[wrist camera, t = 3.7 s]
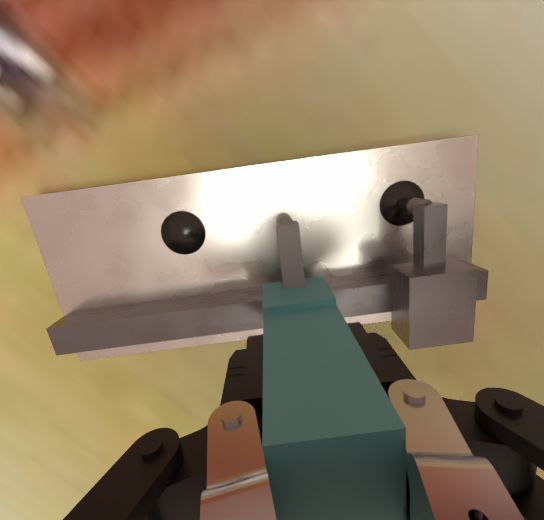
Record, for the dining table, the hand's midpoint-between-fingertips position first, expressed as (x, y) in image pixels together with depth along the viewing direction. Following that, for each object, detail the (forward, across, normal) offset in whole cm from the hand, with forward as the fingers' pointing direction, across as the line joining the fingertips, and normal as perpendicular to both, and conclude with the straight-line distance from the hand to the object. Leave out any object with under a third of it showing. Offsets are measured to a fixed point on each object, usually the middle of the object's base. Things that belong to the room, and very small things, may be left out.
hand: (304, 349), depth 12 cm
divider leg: (+5, 0, -2) cm, 5 cm away
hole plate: (+7, +2, -2) cm, 8 cm away
